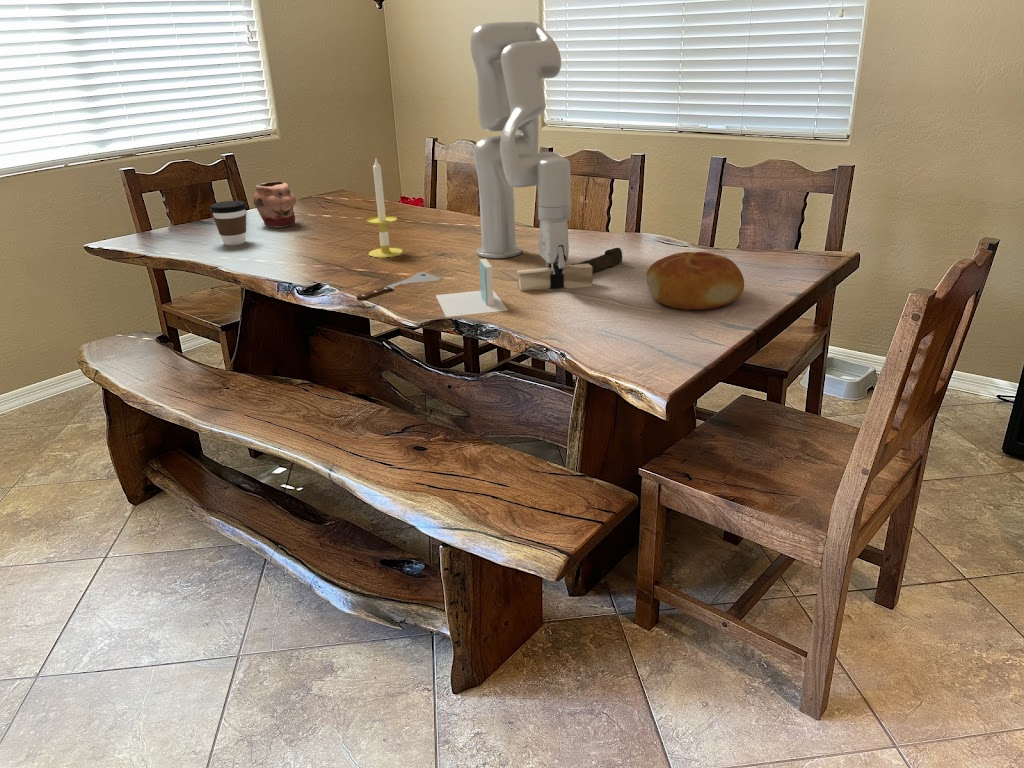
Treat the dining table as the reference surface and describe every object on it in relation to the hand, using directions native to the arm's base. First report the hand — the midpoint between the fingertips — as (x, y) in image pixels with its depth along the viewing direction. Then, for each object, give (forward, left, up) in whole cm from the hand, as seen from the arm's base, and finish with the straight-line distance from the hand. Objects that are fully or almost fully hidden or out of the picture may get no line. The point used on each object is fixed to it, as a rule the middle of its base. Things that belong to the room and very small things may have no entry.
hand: (555, 287), depth 190 cm
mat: (+6, -22, 0) cm, 23 cm away
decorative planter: (-97, -69, 0) cm, 119 cm away
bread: (+17, +28, -1) cm, 33 cm away
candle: (-47, -37, 0) cm, 60 cm away
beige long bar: (0, 0, 0) cm, 0 cm away
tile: (+6, -18, 0) cm, 19 cm away
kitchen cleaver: (-12, -36, -1) cm, 38 cm away
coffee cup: (-76, -81, 0) cm, 111 cm away
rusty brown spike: (-11, +15, -1) cm, 19 cm away
